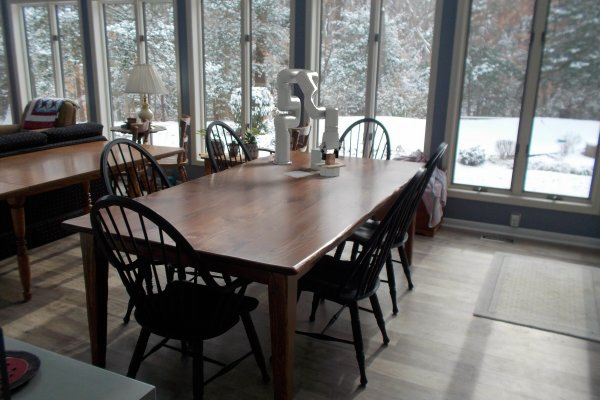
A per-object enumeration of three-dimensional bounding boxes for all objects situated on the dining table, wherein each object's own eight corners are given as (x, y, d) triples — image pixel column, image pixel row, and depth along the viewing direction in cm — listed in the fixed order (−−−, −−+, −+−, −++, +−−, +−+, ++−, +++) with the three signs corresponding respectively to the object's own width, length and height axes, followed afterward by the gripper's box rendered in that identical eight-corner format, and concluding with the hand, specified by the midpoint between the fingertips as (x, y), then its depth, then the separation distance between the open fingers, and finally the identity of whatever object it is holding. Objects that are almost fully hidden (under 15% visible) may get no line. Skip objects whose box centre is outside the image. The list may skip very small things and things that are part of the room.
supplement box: (320, 171, 300) (320, 150, 296) (310, 169, 304) (310, 149, 301) (327, 169, 305) (327, 148, 302) (317, 167, 310) (317, 147, 306)
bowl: (316, 174, 290) (316, 165, 288) (329, 172, 297) (330, 163, 295) (329, 178, 282) (329, 168, 280) (343, 175, 289) (343, 166, 287)
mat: (281, 174, 290) (281, 173, 290) (299, 171, 299) (299, 170, 299) (296, 178, 280) (296, 177, 280) (314, 175, 288) (315, 174, 288)
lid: (314, 165, 288) (314, 153, 287) (330, 162, 297) (330, 151, 295) (329, 169, 279) (329, 156, 277) (345, 166, 287) (346, 154, 285)
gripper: (337, 127, 290) (336, 156, 295) (315, 129, 279) (314, 159, 284) (346, 129, 285) (345, 158, 289) (324, 131, 274) (323, 161, 279)
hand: (330, 159), depth 287 cm, fingers open, 9 cm apart
